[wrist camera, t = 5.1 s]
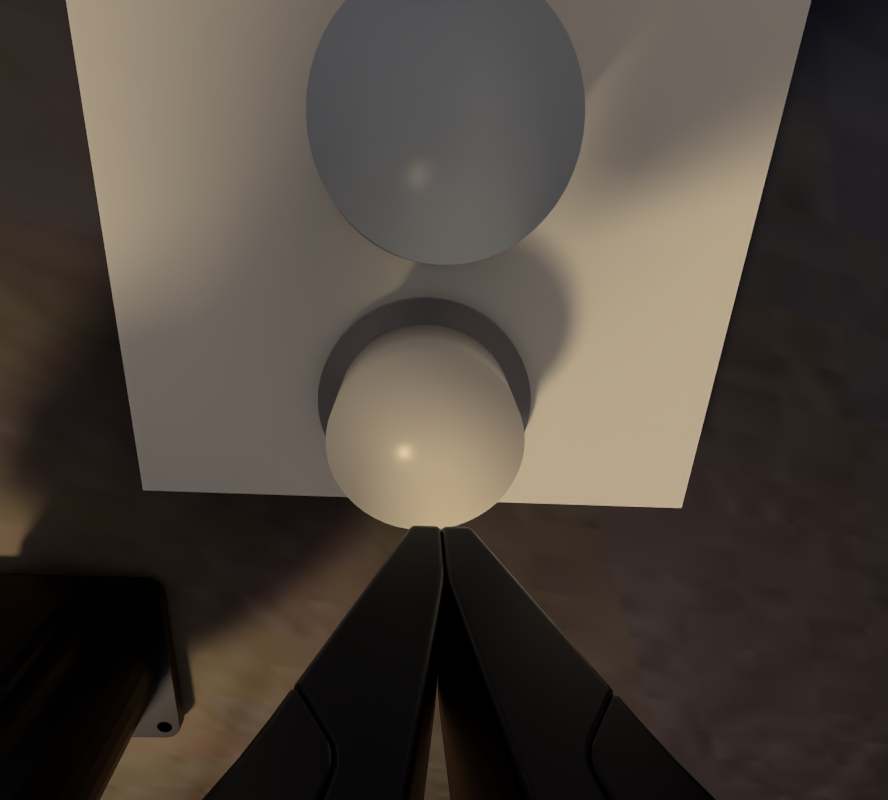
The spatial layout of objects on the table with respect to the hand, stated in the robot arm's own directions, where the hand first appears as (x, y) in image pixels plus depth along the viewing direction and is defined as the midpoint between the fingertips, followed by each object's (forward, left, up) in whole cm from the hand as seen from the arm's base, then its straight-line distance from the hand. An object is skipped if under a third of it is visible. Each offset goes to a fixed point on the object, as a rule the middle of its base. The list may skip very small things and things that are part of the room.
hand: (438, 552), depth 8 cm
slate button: (+6, 0, -4) cm, 7 cm away
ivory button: (0, 0, -6) cm, 6 cm away
